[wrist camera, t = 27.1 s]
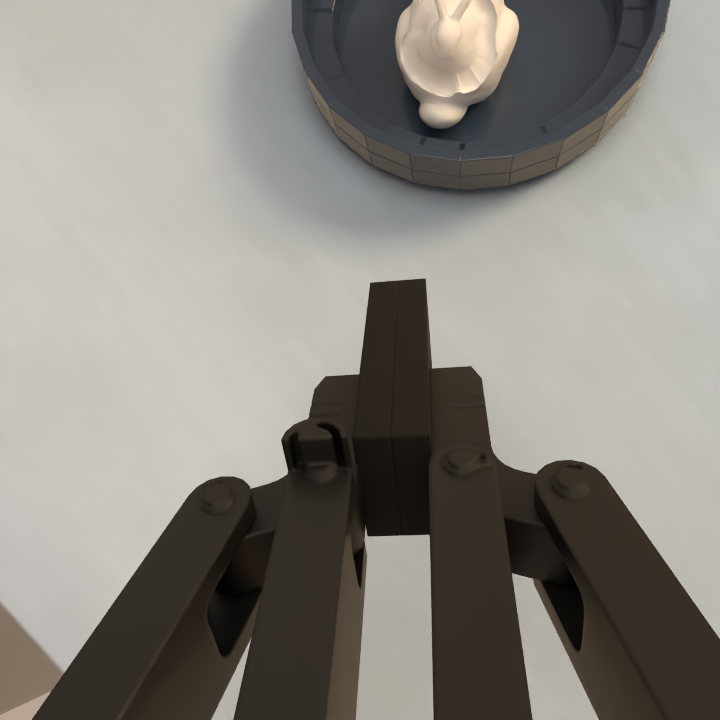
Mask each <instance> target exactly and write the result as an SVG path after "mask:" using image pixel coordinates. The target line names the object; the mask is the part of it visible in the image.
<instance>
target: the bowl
mask: <svg viewBox="0 0 720 720" xmlns="http://www.w3.org/2000/svg"><path fill="white" fill-rule="evenodd" d="M412 2H413V0H292V34H293V37H294V40H295V43H296V47H297V50H298V53H299V56H300V59H301V62H302V66H303V69H304V72H305V75H306V77H307V80H308V83H309V86H310V89H311V92H312V94H313V97H314V100H315V103H316V105H317V107H318V108H319V110H320V111H321V113H322V114H323V115H324V117H325V118H326V120H327V121H328V123H329V124H330V126H331V127H332V129H333V130H334V131H335V133H336V134H337V136H338V137H339V138H340V139H341V140H342V141H343V142H344V143H345V144H347V145H348V146H349V147H350V148H352V149H353V150H354V151H355V152H357V153H358V154H359V155H360V156H362V157H363V158H364V159H365V160H367V161H368V162H369V163H370V164H372V165H373V166H376V167H378V168H380V169H383V170H385V171H387V172H390V173H392V174H394V175H397V176H399V177H401V178H403V179H406V180H408V181H410V182H414V183H418V184H425V185H431V186H437V187H444V188H450V189H457V190H459V189H460V190H469V189H480V188H492V187H503V186H508V185H512V184H515V183H518V182H521V181H524V180H527V179H530V178H533V177H536V176H539V175H542V174H545V173H548V172H551V171H553V170H556V169H558V168H559V167H561V166H563V165H564V164H566V163H567V162H569V161H570V160H572V159H574V158H575V157H577V156H578V155H580V154H581V153H583V152H585V151H586V150H588V149H589V148H591V147H592V146H594V145H595V144H596V143H597V142H598V141H599V140H600V139H601V138H602V137H603V136H604V135H605V134H606V133H607V132H608V131H609V129H610V128H611V127H612V126H613V125H614V124H615V123H616V122H617V121H618V120H619V119H620V118H621V117H622V115H623V114H624V113H625V112H626V111H627V109H628V108H629V106H630V104H631V102H632V100H633V98H634V96H635V95H636V93H637V91H638V89H639V87H640V85H641V83H642V81H643V79H644V77H645V75H646V73H647V71H648V69H649V66H650V64H651V62H652V60H653V57H654V55H655V53H656V51H657V48H658V46H659V44H660V42H661V39H662V37H663V35H664V32H665V29H666V23H667V17H668V12H669V6H670V0H504V5H505V6H506V7H507V8H509V9H510V10H512V11H513V12H514V13H515V14H516V16H517V18H518V22H519V32H518V36H517V40H516V43H515V46H514V49H513V51H512V53H511V55H510V58H509V61H508V63H507V66H506V67H505V69H504V71H503V73H502V75H501V78H500V81H499V83H498V85H497V87H496V89H495V90H494V91H493V92H492V93H491V95H489V96H488V97H487V98H486V99H485V100H483V101H481V102H478V103H475V104H471V105H469V106H468V108H467V110H466V113H465V115H464V116H463V117H462V119H461V120H460V121H459V122H458V123H457V124H455V125H453V126H452V127H449V128H446V129H435V128H432V127H429V126H428V125H426V124H425V123H424V122H423V121H422V119H421V117H420V115H419V108H420V102H419V100H417V99H416V98H415V97H414V95H413V94H412V92H411V90H410V88H409V87H408V85H407V84H406V82H405V79H404V76H403V74H402V71H401V69H400V67H399V64H398V61H397V55H396V46H395V36H396V30H397V25H398V21H399V18H400V16H401V14H402V13H403V11H404V10H405V9H407V8H408V7H409V6H410V5H411V4H412Z"/></svg>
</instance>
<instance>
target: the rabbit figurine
mask: <svg viewBox="0 0 720 720" xmlns="http://www.w3.org/2000/svg"><path fill="white" fill-rule="evenodd" d="M518 32H519V22H518V18H517V16H516V14H515V13H514V12H513V11H512V10H510V9H509V8H507V7H506V6H505V5H504V0H413V2H412V4H411V5H410V6H409V7H408V8H407V9H405V10H404V11H403V13H402V14H401V16H400V18H399V21H398V25H397V30H396V36H395V46H396V55H397V61H398V64H399V67H400V69H401V71H402V74H403V76H404V79H405V82H406V84H407V85H408V87H409V88H410V90H411V92H412V94H413V95H414V97H415V98H416V99H417V100H419V102H420V108H419V115H420V117H421V119H422V121H423V122H424V123H425V124H426V125H428V126H429V127H432V128H435V129H446V128H449V127H452V126H453V125H455V124H457V123H458V122H459V121H460V120H461V119H462V117H463V116H464V115H465V113H466V110H467V108H468V106H469V105H471V104H475V103H478V102H481V101H483V100H485V99H486V98H487V97H488V96H489V95H491V93H492V92H493V91H494V90H495V89H496V87H497V85H498V83H499V81H500V78H501V75H502V73H503V71H504V69H505V67H506V66H507V63H508V61H509V58H510V55H511V53H512V51H513V49H514V46H515V43H516V40H517V36H518Z"/></svg>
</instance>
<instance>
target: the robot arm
mask: <svg viewBox="0 0 720 720" xmlns="http://www.w3.org/2000/svg"><path fill="white" fill-rule="evenodd" d="M281 441H282V446H283V450H284V454H285V459H286V463H287V467H288V474H287V475H286V476H285V477H283V478H281V479H279V480H278V481H275V482H272V483H269V484H266V485H263V486H259V487H256V488H252V489H250V486H249V485H248V484H247V483H246V482H245V481H244V480H242V479H239V478H236V477H218V478H215V479H211V480H208V481H206V482H205V483H203V484H201V485H199V486H198V487H197V488H196V489H195V490H194V491H193V492H192V493H191V494H190V495H189V496H188V498H187V499H186V500H185V502H184V503H183V505H182V506H181V508H180V509H179V510H178V512H177V513H176V515H175V516H174V517H173V519H172V520H171V522H170V523H169V525H168V526H167V527H166V529H165V530H164V532H163V533H162V535H161V536H160V537H159V539H158V540H157V542H156V543H155V545H154V546H153V547H152V549H151V550H150V552H149V553H148V555H147V556H146V557H145V559H144V560H143V562H142V563H141V565H140V566H139V567H138V569H137V570H136V572H135V573H134V575H133V576H132V577H131V579H130V580H129V582H128V583H127V585H126V586H125V587H124V589H123V590H122V592H121V593H120V595H119V596H118V597H117V599H116V600H115V602H114V603H113V604H112V606H111V607H110V609H109V610H108V612H107V613H106V614H105V616H104V617H103V619H102V620H101V622H100V623H99V624H98V626H97V627H96V629H95V630H94V632H93V633H92V634H91V636H90V637H89V639H88V640H87V642H86V643H85V644H84V646H83V647H82V649H81V650H80V652H79V653H78V654H77V656H76V657H75V659H74V660H73V662H72V663H71V664H70V666H69V667H68V669H67V670H66V672H65V673H64V674H63V676H62V677H61V679H60V680H59V682H58V683H57V684H56V686H55V687H54V689H53V690H52V691H51V693H50V694H49V696H48V697H47V699H46V700H45V701H44V703H43V704H42V706H41V707H40V709H39V710H38V711H37V713H36V714H35V716H34V717H33V719H32V720H211V719H212V717H213V715H214V713H215V711H216V708H217V706H218V704H219V702H220V700H221V698H222V696H223V694H224V692H225V690H226V688H227V686H228V684H229V682H230V680H231V678H232V676H233V674H234V672H235V670H236V667H237V665H238V663H239V661H240V659H241V657H242V655H243V653H244V651H245V649H246V647H247V645H248V643H249V641H250V639H251V643H250V647H249V652H248V656H247V661H246V665H245V670H244V674H243V679H242V683H241V688H240V692H239V697H238V701H237V706H236V710H235V715H234V719H233V720H356V707H357V692H358V678H359V664H360V650H361V636H362V622H363V608H364V593H365V579H366V565H367V553H366V547H365V541H364V538H365V526H366V529H367V535H368V536H398V535H430V558H431V608H432V658H433V707H434V720H532V713H531V706H530V699H529V692H528V685H527V678H526V671H525V664H524V656H523V649H522V642H521V635H520V628H519V621H518V614H517V607H516V600H515V593H514V586H513V579H512V573H513V574H517V575H521V576H525V577H529V578H533V581H534V585H535V587H536V589H537V591H538V593H539V596H540V598H541V600H542V602H543V604H544V606H545V608H546V610H547V612H548V614H549V616H550V618H551V621H552V623H553V625H554V627H555V629H556V631H557V633H558V635H559V637H560V639H561V641H562V643H563V646H564V648H565V650H566V652H567V654H568V656H569V658H570V660H571V662H572V664H573V666H574V669H575V671H576V673H577V675H578V677H579V679H580V681H581V683H582V685H583V687H584V689H585V691H586V694H587V696H588V698H589V700H590V702H591V704H592V706H593V708H594V710H595V712H596V714H597V717H598V719H599V720H720V639H719V637H718V636H717V635H716V633H715V632H714V630H713V629H712V628H711V626H710V625H709V623H708V622H707V620H706V619H705V618H704V616H703V615H702V613H701V612H700V611H699V609H698V608H697V606H696V605H695V603H694V602H693V601H692V599H691V598H690V596H689V595H688V594H687V592H686V591H685V589H684V588H683V586H682V585H681V584H680V582H679V581H678V579H677V578H676V576H675V575H674V574H673V572H672V571H671V569H670V568H669V567H668V565H667V564H666V562H665V561H664V559H663V558H662V557H661V555H660V554H659V552H658V551H657V550H656V548H655V547H654V545H653V544H652V542H651V541H650V540H649V538H648V537H647V535H646V534H645V533H644V531H643V530H642V528H641V527H640V525H639V524H638V523H637V521H636V520H635V518H634V517H633V516H632V514H631V513H630V511H629V510H628V508H627V507H626V506H625V504H624V503H623V501H622V500H621V499H620V497H619V496H618V494H617V493H616V491H615V490H614V489H613V487H612V486H611V484H610V483H609V482H608V480H607V479H606V477H605V476H604V475H603V474H602V473H601V472H600V471H599V470H597V469H596V468H594V467H592V466H590V465H588V464H586V463H584V462H578V461H573V460H564V461H555V462H553V463H550V464H547V465H545V466H544V467H543V468H542V469H541V470H540V471H538V472H537V474H533V473H527V472H523V471H519V470H516V469H513V468H511V467H509V466H507V465H505V464H504V463H502V462H501V461H500V460H498V458H497V457H496V456H495V454H494V453H493V450H492V447H491V441H490V434H489V427H488V420H487V413H486V407H485V399H484V392H483V385H482V378H481V377H480V376H479V375H478V374H477V373H476V371H475V370H474V369H473V368H472V367H471V366H469V367H452V368H435V369H432V360H431V346H430V333H429V319H428V306H427V292H426V279H414V280H400V281H387V282H374V283H370V290H369V299H368V307H367V316H366V324H365V332H364V341H363V349H362V357H361V366H360V374H359V375H343V376H326V377H325V378H324V379H323V380H322V381H321V382H320V384H319V385H318V386H317V387H316V388H315V389H314V394H313V399H312V406H311V409H310V413H309V418H308V419H307V420H304V421H301V422H299V423H297V424H294V425H293V426H292V427H291V428H290V429H288V430H287V431H286V432H285V434H284V436H283V437H282V439H281ZM251 637H252V638H251Z"/></svg>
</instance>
